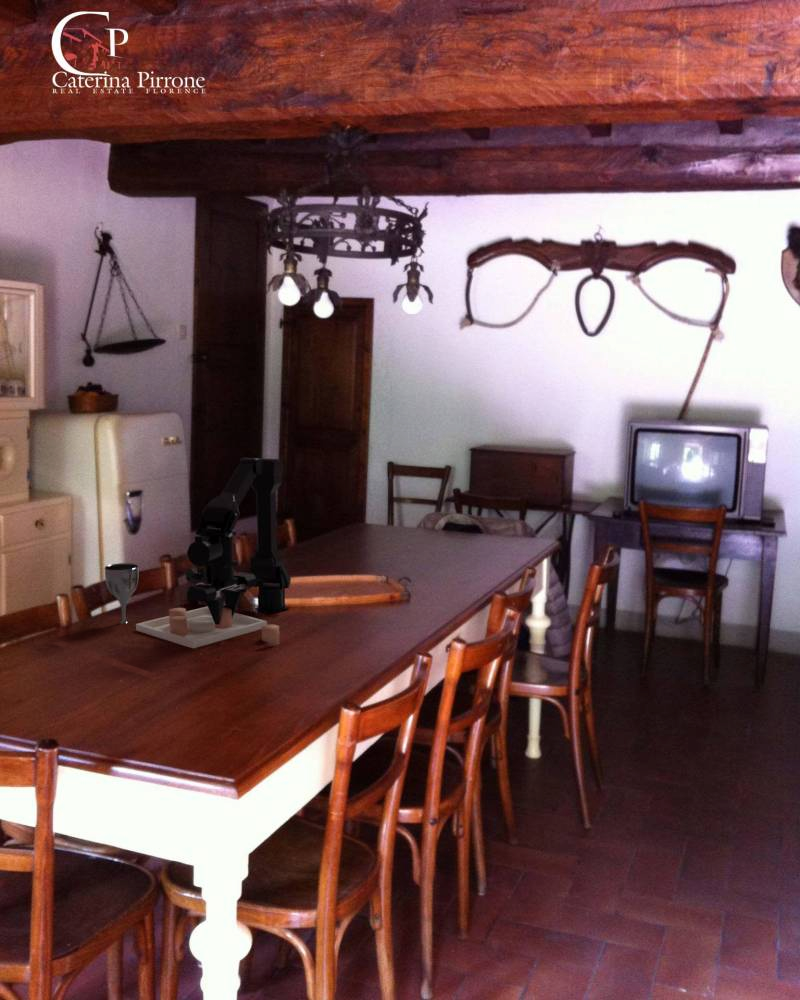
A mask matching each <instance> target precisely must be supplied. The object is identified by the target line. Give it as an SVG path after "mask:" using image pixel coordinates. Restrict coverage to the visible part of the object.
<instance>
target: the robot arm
mask: <svg viewBox="0 0 800 1000" xmlns="http://www.w3.org/2000/svg"><path fill="white" fill-rule="evenodd" d="M284 472H285V471H284V465H283V463H281V462H280V460H279V459H278V458H260V457H257V458H256V457H255V458H254V457H242V458H240V459H239V460H238V464H237V468H236V469H235V470H234V473H233V474H232V475H231V477H230V479H229V481H228V482H227V484H226V486H225V488H224V489H223V490H222V492H221V493H220V494H219V495H217V496H215V497H213V498H212V499H210V500H209V502H208V503H207V504H206V506H205V507H204V509H203V510H202V513H201V516H200V519H199V522H198V525H197V528H196V531H195V535H196V536H194V541H193V542H192V543H190V544H189V546H188V549H187V551H186V552H187V553H186V555H187V557H188V561H190V563H191V564H193V565H194V567H190V568H187V569H185V578H186V581H187V583H192V584H193V585H192V584H191V585H192V586H189V587H188V588H186V590H185V593H186V594H185V595H186V599H187V600H189V601H195V602H198V601H201V602H205V603H206V604H207V605H206V607H207V606H208V608H209V610H210V613H211V615H212V618H213V620H214V623H215V624H217V625H218V624H220V620H221V615H222V609H223V608H224V606H223V604H224V597H225V605H226V606H225V608H230V609H231V610H232V618H233V615H234V613H236V611H237V609H238V607H239V604H240V602H241V600H242V599H243V597H244V595H245V594H246V593H247V591H248V590H245V589H242V586H241V584H246V586H247V587H248V588H249V589H250V588H258V594H257V606H256V607H255V608H254V610H256V611H260V612H264V613H267V614H275V613H279V612H282V611H283V612H284V611H286V610H289V609H290V607H289V606H287V605H286V593H285V589H290V586H291V580H292V578H291V576H290V574H289V572H288V571H287V569H286V567H285V563H284V557H283V556H282V554H281V553H280V551H279V549H278V545H277V542H278V539H277V535H278V534H277V533H278V531H277V491H278V489H279V488H280V486H281V485H282V483H283V475H284ZM250 487H252V489H253V490H254V492H255V493H256V523H257V524H256V525H257V526H256V527H257V529H256V530H257V531H256V534H257V535H256V536H257V550H256V552H255V554H254V556H251V558H250V571H249V573H248V572H240V571H238V572H236V573H234V570H235V567H237V566H238V560H235V559H234V556H235V555H234V536H236V535H237V531H236V530H235V529H234V528H235V526H237V523H238V521H239V518H240V516H241V513H240V510H239V507H240V505H241V503H242V501H243V500H244V498H245V496H246V494H247V493H248V491H249V489H250ZM197 567H203V568H201V569H197ZM198 583H204V584H210V586H208V585H201V584H198ZM196 584H198V585H196ZM194 585H195V586H194ZM218 587H219V588H218ZM220 591H221V592H222V593H223V595H224V597H220Z"/></svg>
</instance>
